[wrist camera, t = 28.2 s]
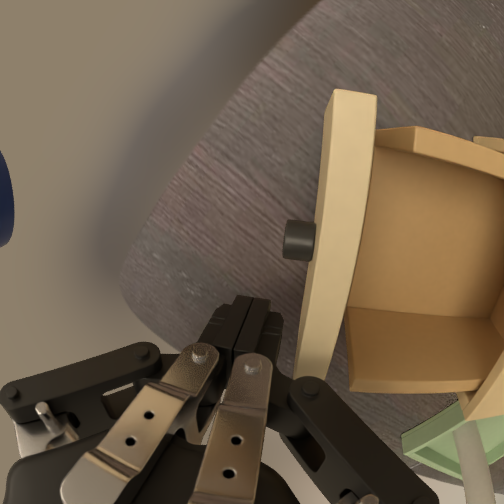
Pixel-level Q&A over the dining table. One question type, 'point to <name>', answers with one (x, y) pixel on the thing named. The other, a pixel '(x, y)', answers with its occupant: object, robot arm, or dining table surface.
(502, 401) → the cabinet
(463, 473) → the marker
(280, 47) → the dining table surface
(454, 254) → the drawer
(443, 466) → the tray
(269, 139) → the dining table surface
